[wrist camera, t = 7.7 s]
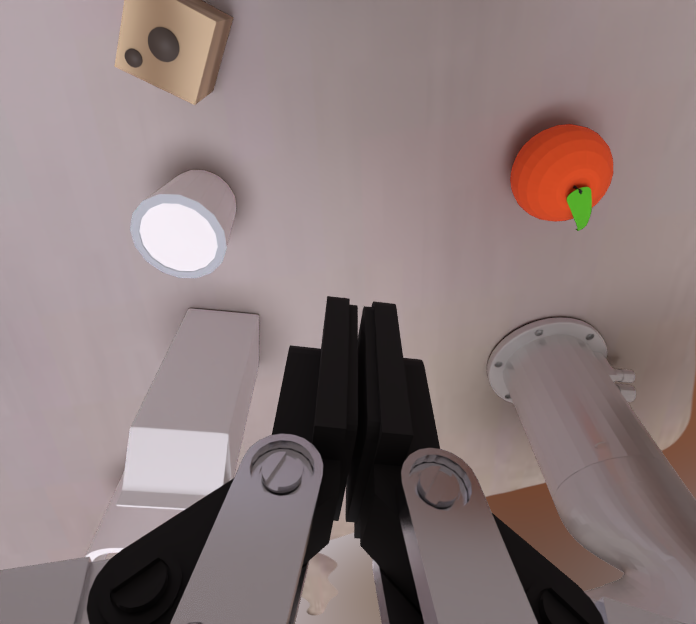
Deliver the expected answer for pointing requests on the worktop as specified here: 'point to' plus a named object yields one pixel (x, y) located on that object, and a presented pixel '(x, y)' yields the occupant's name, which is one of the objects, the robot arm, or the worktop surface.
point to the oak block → (173, 45)
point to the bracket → (124, 526)
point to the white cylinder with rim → (185, 224)
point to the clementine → (562, 174)
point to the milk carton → (193, 412)
